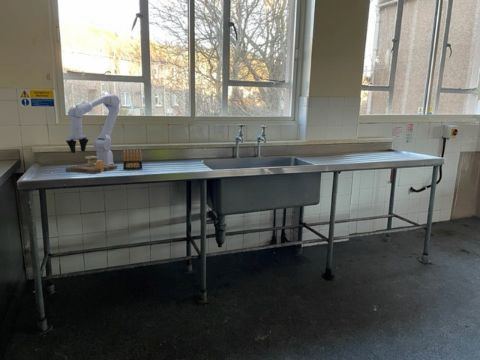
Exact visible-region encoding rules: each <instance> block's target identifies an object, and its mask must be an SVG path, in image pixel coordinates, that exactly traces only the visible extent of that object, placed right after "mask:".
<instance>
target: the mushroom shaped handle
mask: <svg viewBox="0 0 480 360" xmlns="http://www.w3.org/2000/svg"><path fill="white" fill-rule="evenodd" d="M84 158H85V159H87V163H88V164H87V163H85V164H86V166H96V163H95V161H96V160H95V159H97V155H96V156H95V155H88V156H87V155H86V156H84Z"/></svg>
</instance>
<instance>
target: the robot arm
mask: <svg viewBox="0 0 480 360" xmlns="http://www.w3.org/2000/svg"><path fill="white" fill-rule="evenodd" d="M120 103H121V100H120V98H119V96H118V95H117V94H115V93H114V94H103V95H100V96H98V97H97V98H95V99H93V100H91V101H82V103H80V104H77V105H75V106H74V107H70V108H69V109H68V111H67V115H68V116H69V119H70V132H71V135H70V136H66V137H65V138H66V139H65V142H66V143H67V145H68V147H69V150H70V152H71V153H73V154H75V153H76V145H77V141H76V140H78V142H79V146H80V151H81V152H85V151H86V147H87V145H88V142H89V138H88V135H85V134H84V135H83V122H82V121H83V119H82V117H83V116H84V115H85V114H87V113H89V112H92V110H93V108H95V107H97V106H99V105H102V104H103V105H104V107H106V108H107V110H108V113H107V116H106V119H105V122H104V125H103V127H102V131H101V133H100V134H99V135H98V136H97V138H96V139H95V140H94V141H93V148H94V149H95V151H96V161H98V160H102V161H103V163H104V164H105V165H115V162H114V154H113V151H111V148H112V141H113V140H112V138H111V135H112V131H113V129H114V126H115V125H116V120H117V118H118V115H119V112H120V111H119V110H120Z"/></svg>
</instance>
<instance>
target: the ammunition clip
mask: <svg viewBox="0 0 480 360" xmlns="http://www.w3.org/2000/svg"><path fill="white" fill-rule="evenodd" d="M122 152H123V154H122V155H123V156H122V163H123V165H122V167H123V168H122V170H123V171H127V170H128V171H129V170H143V155H142V150H141V148H140V149H139V150H138V149H137V148H136V150H135V148H133V149H128V148H127V149H126V150H125V148H124V149H123V151H122Z"/></svg>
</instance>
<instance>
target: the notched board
mask: <svg viewBox="0 0 480 360" xmlns="http://www.w3.org/2000/svg"><path fill="white" fill-rule="evenodd" d="M86 164H88V162H87V163H81V164H78V165H71V166H66V167H65V171H66V172H72V173H83V174H84V173H85V174H92V175H93V174H100V173H102V172H101V169H97V168H96V166H86ZM117 167H118V166H117V165H115V164H111V165H105V164H104V171H103V172H109V171H113V170H117V169H118V168H117Z"/></svg>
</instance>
